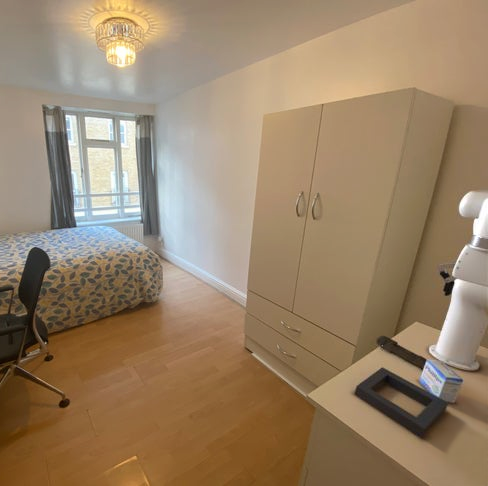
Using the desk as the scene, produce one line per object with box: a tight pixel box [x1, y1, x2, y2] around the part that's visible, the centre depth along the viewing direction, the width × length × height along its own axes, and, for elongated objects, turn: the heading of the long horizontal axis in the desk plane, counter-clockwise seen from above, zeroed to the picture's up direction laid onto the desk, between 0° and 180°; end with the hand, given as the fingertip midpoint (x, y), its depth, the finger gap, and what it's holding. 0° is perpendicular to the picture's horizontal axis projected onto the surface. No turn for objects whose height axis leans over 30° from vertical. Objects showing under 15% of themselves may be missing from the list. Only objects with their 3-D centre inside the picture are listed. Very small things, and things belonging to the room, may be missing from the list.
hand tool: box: [375, 335, 428, 370], centre depth 98 cm, size 19×4×5 cm, turn 21°
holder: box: [354, 366, 449, 439], centre depth 80 cm, size 16×16×3 cm
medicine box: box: [419, 359, 464, 404], centre depth 83 cm, size 8×4×9 cm, turn 170°
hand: (470, 301), depth 77 cm, fingers open, 9 cm apart
